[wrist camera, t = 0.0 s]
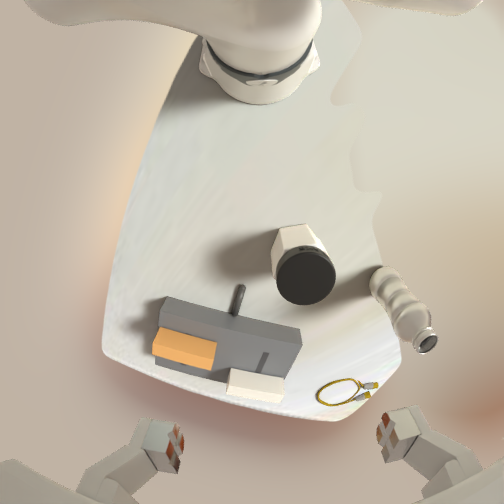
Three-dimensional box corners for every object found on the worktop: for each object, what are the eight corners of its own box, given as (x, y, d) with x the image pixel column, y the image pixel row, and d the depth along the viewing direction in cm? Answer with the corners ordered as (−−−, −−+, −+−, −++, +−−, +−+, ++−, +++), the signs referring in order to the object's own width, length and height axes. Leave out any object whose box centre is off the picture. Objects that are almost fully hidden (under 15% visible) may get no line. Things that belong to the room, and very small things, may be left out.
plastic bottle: (400, 265, 48) (454, 326, 30) (387, 295, 51) (431, 362, 33) (373, 259, 48) (423, 323, 30) (360, 290, 51) (400, 361, 32)
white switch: (231, 367, 52) (228, 385, 48) (283, 377, 53) (284, 395, 49) (227, 377, 53) (225, 393, 49) (278, 386, 54) (279, 403, 50)
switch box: (171, 264, 50) (163, 277, 45) (312, 300, 52) (317, 315, 47) (161, 351, 58) (154, 366, 53) (275, 377, 60) (276, 394, 56)
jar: (329, 250, 48) (348, 284, 37) (293, 278, 50) (302, 317, 39) (298, 212, 45) (311, 237, 34) (261, 242, 48) (261, 275, 36)
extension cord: (353, 407, 66) (355, 412, 65) (308, 399, 64) (309, 405, 62) (380, 381, 62) (383, 386, 60) (335, 370, 60) (336, 376, 58)
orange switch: (160, 326, 49) (152, 342, 44) (217, 342, 50) (213, 359, 45) (159, 338, 50) (152, 354, 45) (214, 353, 51) (210, 370, 46)
